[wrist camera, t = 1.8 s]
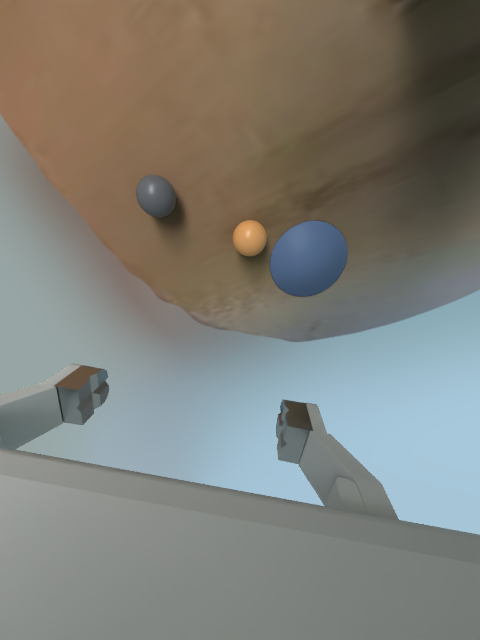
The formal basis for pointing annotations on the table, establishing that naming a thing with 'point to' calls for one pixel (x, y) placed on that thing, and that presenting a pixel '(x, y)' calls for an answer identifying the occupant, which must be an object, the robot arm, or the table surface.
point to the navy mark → (308, 258)
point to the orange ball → (249, 238)
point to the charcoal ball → (156, 196)
